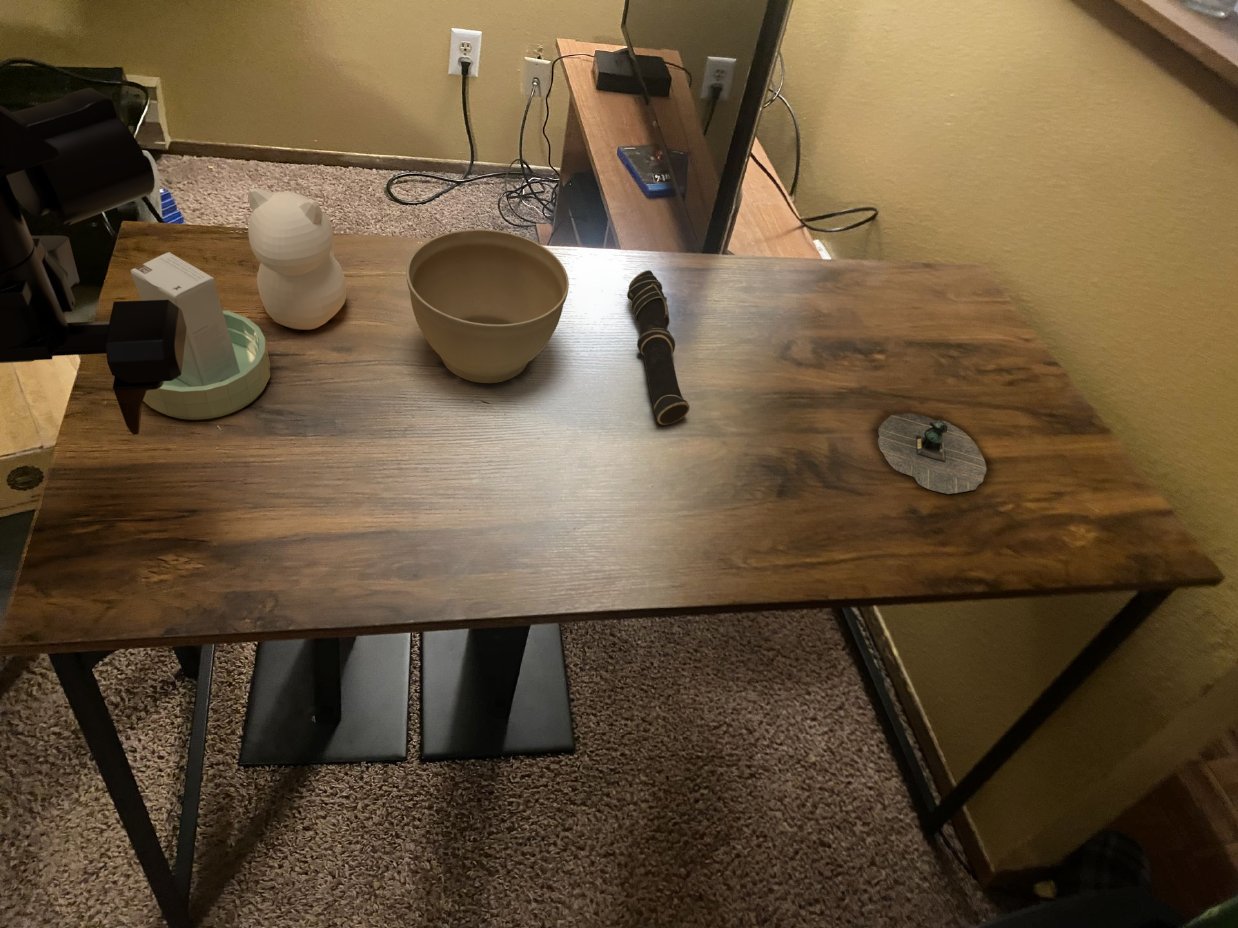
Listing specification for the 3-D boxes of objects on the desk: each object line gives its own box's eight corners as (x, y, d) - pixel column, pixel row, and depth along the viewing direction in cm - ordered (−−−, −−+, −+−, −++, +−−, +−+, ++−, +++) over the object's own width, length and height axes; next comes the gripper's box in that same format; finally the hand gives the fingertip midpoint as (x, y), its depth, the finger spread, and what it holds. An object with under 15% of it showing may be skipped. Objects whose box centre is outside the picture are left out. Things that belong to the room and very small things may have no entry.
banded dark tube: (698, 409, 86) (670, 266, 102) (651, 398, 84) (630, 255, 101) (682, 436, 89) (657, 293, 105) (636, 426, 87) (618, 283, 104)
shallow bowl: (129, 426, 77) (117, 395, 75) (143, 342, 85) (132, 311, 82) (270, 417, 81) (264, 386, 78) (271, 336, 89) (265, 306, 86)
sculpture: (857, 421, 94) (916, 375, 91) (891, 453, 100) (946, 411, 98) (914, 497, 86) (980, 449, 83) (946, 526, 92) (1009, 482, 90)
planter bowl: (406, 405, 85) (402, 320, 77) (413, 307, 95) (410, 224, 87) (564, 409, 88) (575, 328, 80) (553, 314, 98) (562, 234, 90)
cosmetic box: (243, 377, 83) (219, 276, 74) (205, 401, 80) (176, 298, 71) (200, 350, 85) (172, 248, 76) (161, 372, 82) (127, 268, 73)
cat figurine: (245, 333, 88) (217, 206, 77) (291, 268, 97) (272, 145, 86) (329, 349, 88) (312, 225, 78) (368, 283, 97) (358, 163, 86)
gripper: (164, 181, 57) (212, 356, 68) (-168, 180, 52) (-58, 370, 63) (148, 277, 50) (204, 454, 61) (-239, 287, 45) (-100, 479, 56)
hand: (66, 435), depth 61 cm, fingers open, 9 cm apart
